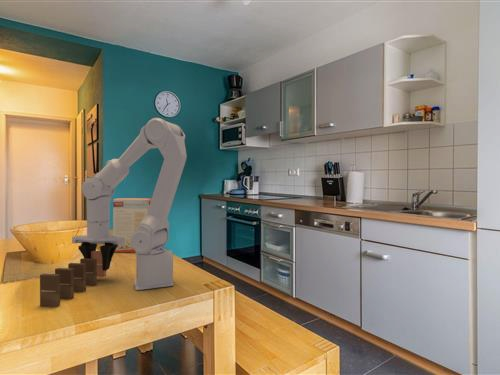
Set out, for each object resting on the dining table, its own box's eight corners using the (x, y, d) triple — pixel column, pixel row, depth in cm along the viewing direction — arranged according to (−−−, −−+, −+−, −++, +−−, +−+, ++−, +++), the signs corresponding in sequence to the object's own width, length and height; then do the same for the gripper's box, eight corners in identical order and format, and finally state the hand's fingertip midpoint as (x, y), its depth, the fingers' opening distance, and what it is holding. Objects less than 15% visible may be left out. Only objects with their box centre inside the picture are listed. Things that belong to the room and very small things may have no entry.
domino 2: (58, 296, 73) (58, 267, 73) (73, 297, 72) (73, 268, 72) (55, 298, 72) (54, 269, 72) (70, 299, 71) (70, 269, 71)
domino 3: (71, 290, 77) (71, 262, 77) (85, 290, 77) (85, 263, 77) (68, 291, 76) (68, 263, 76) (83, 292, 76) (83, 264, 76)
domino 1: (43, 304, 68) (43, 273, 68) (60, 305, 68) (60, 274, 68) (40, 306, 67) (39, 275, 67) (56, 307, 67) (56, 275, 67)
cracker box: (153, 250, 122) (154, 198, 122) (147, 253, 116) (147, 199, 116) (120, 249, 123) (120, 197, 123) (112, 252, 117) (112, 198, 117)
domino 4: (82, 284, 82) (82, 258, 82) (96, 284, 81) (96, 258, 81) (80, 285, 81) (80, 259, 81) (94, 286, 80) (94, 259, 80)
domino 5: (93, 275, 86) (93, 250, 86) (106, 275, 86) (106, 251, 86) (90, 276, 85) (90, 251, 85) (104, 276, 85) (104, 252, 85)
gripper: (64, 222, 82) (64, 272, 82) (115, 223, 80) (115, 274, 81) (81, 219, 89) (81, 265, 89) (128, 220, 87) (128, 267, 88)
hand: (98, 269), depth 86 cm, fingers closed on domino 5, 4 cm apart
